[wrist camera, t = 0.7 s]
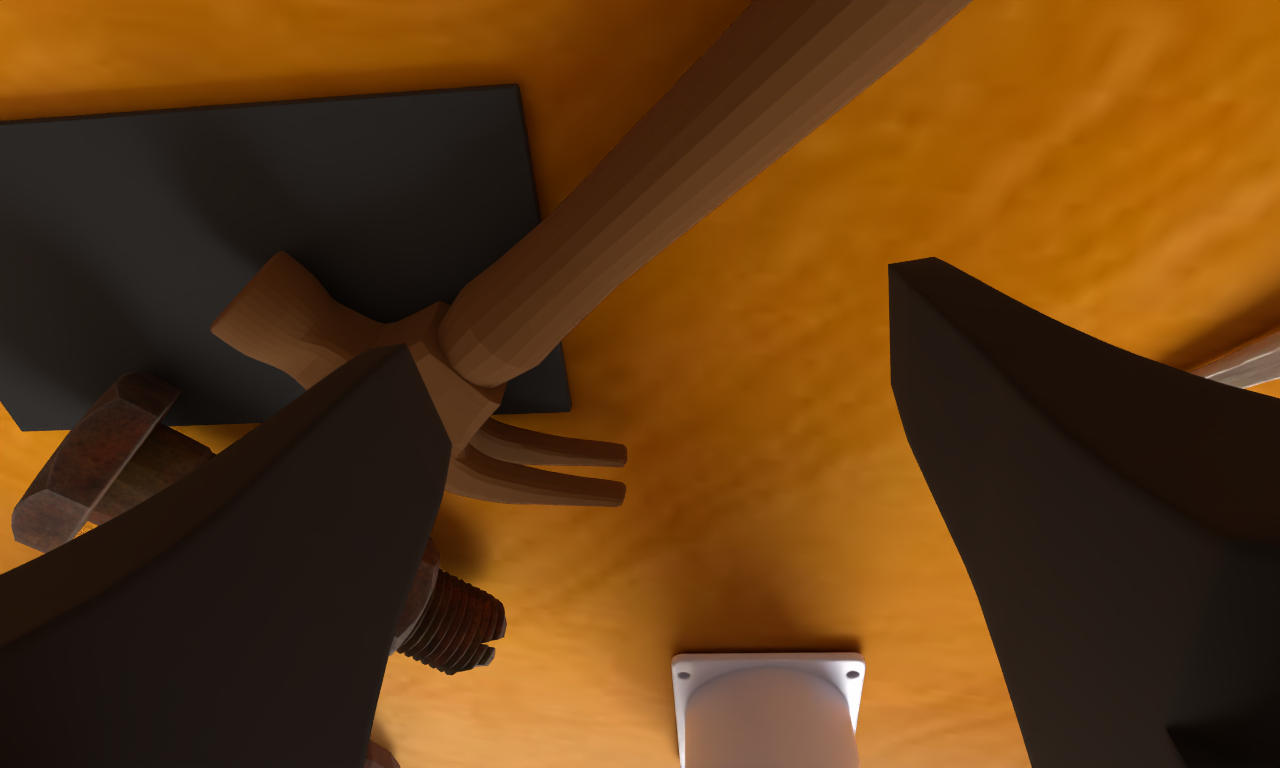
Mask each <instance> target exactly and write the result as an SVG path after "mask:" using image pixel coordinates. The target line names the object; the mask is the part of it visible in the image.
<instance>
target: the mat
mask: <svg viewBox="0 0 1280 768" xmlns="http://www.w3.org/2000/svg"><path fill="white" fill-rule="evenodd" d="M541 222H542V221H541V215H540V209H539V203H538V197H537V190H536V184H535V178H534V172H533V166H532V160H531V154H530V148H529V142H528V136H527V130H526V124H525V117H524V111H523V105H522V99H521V93H520V87H519V84H517V83H516V84H503V85H489V86H475V87H462V88H448V89H434V90H421V91H407V92H393V93H379V94H366V95H352V96H338V97H325V98H311V99H297V100H283V101H270V102H256V103H242V104H229V105H215V106H201V107H188V108H174V109H160V110H146V111H133V112H119V113H105V114H92V115H78V116H64V117H50V118H37V119H23V120H9V121H0V401H1V403H2V404H3V406H4V407H5V408H6V410H7V411H8V413H9V414H10V415H11V417H12V418H13V420H14V421H15V422H16V424H17V425H18V427H19V428H20V429H21V431H49V430H72V429H73V428H74V426H75V425H76V424H77V423H78V422H79V421H80V420H81V418H82V417H83V416H84V415H85V414H86V413H87V412H88V410H89V409H90V408H91V407H92V406H93V405H94V404H95V402H96V401H97V400H98V399H99V398H100V397H101V396H102V395H103V394H104V393H105V392H106V391H107V390H108V389H109V388H110V387H111V385H112V384H113V383H114V382H115V381H116V380H117V379H118V378H119V377H120V376H122V375H124V374H127V373H132V372H149V373H151V374H153V375H154V376H156V377H158V378H160V379H162V380H164V381H166V382H168V383H170V384H172V385H174V386H175V387H177V388H179V389H181V390H182V392H181V394H180V395H179V397H178V398H177V400H176V401H175V403H174V404H173V405H172V407H171V408H170V410H169V411H168V413H167V414H166V416H165V417H164V418H163V420H162V421H161V423H162V424H164V425H166V426H190V425H218V424H246V423H263V422H265V421H266V420H267V419H269V418H270V417H271V416H273V415H274V414H276V413H277V412H278V411H280V410H281V409H282V408H284V407H285V406H286V405H288V404H289V403H290V402H292V401H293V400H295V399H296V398H297V397H299V396H300V395H301V394H303V393H304V392H305V391H306V390H305V388H303V387H302V386H301V385H300V384H299V383H298V382H297V381H296V380H295V379H294V378H293V377H291V376H290V375H289V374H287V373H286V372H284V371H283V370H280V369H278V368H276V367H274V366H272V365H269V364H266V363H264V362H261V361H258V360H256V359H254V358H251V357H249V356H247V355H245V354H243V353H241V352H240V351H238V350H237V349H235V348H233V347H232V346H230V345H229V344H227V343H226V342H224V341H223V340H221V339H220V338H219V337H217V336H216V335H214V334H213V333H212V332H211V331H210V326H211V325H212V323H213V322H214V320H215V319H216V318H217V317H218V316H219V314H220V313H221V312H222V311H223V310H224V309H225V308H226V307H227V305H228V304H229V303H230V302H231V301H232V300H233V299H234V298H235V297H236V295H237V294H238V293H239V292H240V291H241V290H242V289H243V288H244V287H245V286H246V285H247V283H248V282H249V281H250V280H251V279H252V278H253V277H254V276H255V275H256V274H257V273H258V272H259V270H260V269H261V268H262V267H263V266H264V265H265V264H266V263H267V262H268V261H269V260H270V259H271V258H272V257H273V256H274V255H275V254H276V253H278V252H279V251H284V252H286V253H287V254H289V255H290V256H291V257H292V258H294V259H295V260H296V261H298V262H299V263H300V264H301V265H303V266H304V267H305V268H306V269H307V270H308V271H309V272H310V273H312V274H313V275H314V276H315V277H316V278H317V280H318V281H319V282H320V283H321V284H322V286H323V287H324V288H325V289H326V291H327V292H328V293H329V295H330V296H331V297H332V298H333V299H334V300H336V301H337V302H338V303H340V304H341V305H343V306H345V307H348V308H350V309H352V310H354V311H356V312H358V313H360V314H362V315H364V316H366V317H368V318H370V319H372V320H374V321H377V322H380V323H384V324H388V323H394V322H398V321H400V320H402V319H404V318H406V317H408V316H411V315H413V314H415V313H417V312H419V311H421V310H423V309H425V308H426V307H428V306H430V305H432V304H434V303H436V302H438V301H442V302H444V303H447V304H449V305H452V304H453V302H454V300H455V299H456V297H457V296H458V294H459V293H460V291H461V290H462V289H463V288H464V286H465V285H466V284H467V283H469V282H470V281H471V280H473V279H474V278H475V277H477V276H478V275H479V274H480V273H482V272H483V271H484V270H486V269H487V268H488V267H489V266H491V265H492V264H493V263H495V262H496V261H497V260H498V259H499V258H501V257H502V256H503V255H504V254H505V253H506V252H508V251H509V250H510V249H511V248H512V247H513V246H514V245H516V244H517V243H518V242H519V241H520V240H521V239H523V238H524V237H525V236H526V235H527V234H528V233H529V232H531V231H532V230H533V229H534V228H535V227H536V226H538V225H539V224H540V223H541ZM571 406H572V403H571V397H570V391H569V385H568V379H567V373H566V367H565V361H564V355H563V349H562V342H561V341H560V342H559V343H558V345H557V346H556V347H555V348H554V349H553V350H552V351H551V352H550V353H549V354H548V355H547V356H546V357H545V358H544V360H543V361H542V362H541V363H540V364H539V365H537V366H535V367H533V368H532V369H530V370H528V371H526V372H524V373H522V374H520V375H518V376H516V377H514V378H512V379H510V380H508V381H507V385H506V388H505V391H504V395H503V398H502V401H501V405H500V406H499V407H498V408H497V409H496V410H495V411H494V412H493V414H492V415H500V414H528V413H556V412H570V411H571Z"/></svg>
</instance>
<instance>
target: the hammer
mask: <svg viewBox="0 0 1280 768" xmlns="http://www.w3.org/2000/svg"><path fill="white" fill-rule="evenodd" d="M971 1H973V0H755V1H754V2H753V3H752V4H751V5H750V6H749V7H748V8H747V9H746V10H745V11H744V12H743V13H742V14H741V15H740V16H739V17H738V18H737V19H736V21H735V22H734V23H733V24H732V25H731V26H730V27H729V28H728V29H727V30H726V31H725V32H724V33H723V34H722V35H721V36H720V37H719V38H718V39H717V40H716V42H715V43H714V44H713V45H712V46H711V47H710V48H709V49H708V50H707V51H706V52H705V53H704V54H703V55H702V56H701V57H700V58H699V59H698V60H697V61H696V62H695V64H694V65H693V66H692V67H691V68H690V69H689V70H688V71H687V72H686V73H685V74H684V75H683V76H682V77H681V78H680V79H679V80H678V81H677V82H676V83H675V85H674V86H673V87H672V88H671V89H670V90H669V91H668V92H667V93H666V94H665V95H664V96H663V97H662V98H661V99H660V100H659V101H658V102H657V103H656V104H655V105H654V107H653V108H652V109H651V110H650V111H649V112H648V113H647V114H646V115H645V116H644V117H643V118H642V119H641V120H640V121H639V122H638V123H637V124H636V125H635V126H634V128H633V129H632V130H631V131H630V132H629V133H628V134H627V135H626V136H625V137H624V138H623V139H622V140H621V141H620V142H619V143H618V144H617V145H616V146H615V147H614V149H613V150H612V151H611V152H610V153H609V154H608V155H607V156H606V157H605V158H604V159H603V160H602V161H601V162H600V163H599V164H598V165H597V166H596V167H595V168H594V169H593V171H592V172H591V173H590V174H589V175H588V176H587V177H586V178H585V179H584V180H583V181H582V182H581V183H580V184H579V185H578V186H577V187H576V188H575V189H574V190H573V192H572V193H571V194H570V195H569V196H568V197H567V198H566V199H565V200H564V201H563V202H562V203H561V204H560V205H559V206H558V207H557V208H556V209H555V210H554V211H553V212H552V213H551V214H550V215H549V216H548V217H547V218H546V219H544V220H543V221H542V222H541V223H540V224H539V225H538V226H536V227H535V228H534V229H533V230H532V231H531V232H529V233H528V234H527V235H526V236H525V237H524V238H523V239H521V240H520V241H519V242H518V243H517V244H516V245H514V246H513V247H512V248H511V249H510V250H509V251H508V252H506V253H505V254H504V255H503V256H502V257H501V258H499V259H498V260H497V261H496V262H495V263H493V264H492V265H491V266H489V267H488V268H487V269H486V270H484V271H483V272H482V273H480V274H479V275H478V276H477V277H475V278H474V279H473V280H471V281H470V282H469V283H467V284H466V285H465V286H464V288H463V289H462V290H461V291H460V293H459V294H458V296H457V297H456V299H455V300H454V302H453V304H452V305H449V304H447V303H444V302H442V301H438V302H436V303H434V304H432V305H430V306H428V307H426V308H425V309H423V310H421V311H419V312H417V313H415V314H413V315H411V316H408V317H406V318H404V319H402V320H400V321H398V322H394V323H388V324H384V323H380V322H377V321H374V320H372V319H370V318H368V317H366V316H364V315H362V314H360V313H358V312H356V311H354V310H352V309H350V308H348V307H345V306H343V305H341V304H340V303H338V302H337V301H336V300H334V299H333V298H332V297H331V296H330V295H329V293H328V292H327V291H326V289H325V288H324V287H323V286H322V284H321V283H320V282H319V281H318V280H317V278H316V277H315V276H314V275H313V274H312V273H310V272H309V271H308V270H307V269H306V268H305V267H304V266H303V265H301V264H300V263H299V262H298V261H296V260H295V259H294V258H292V257H291V256H290V255H289V254H287V253H286V252H284V251H279V252H278V253H276V254H275V255H274V256H273V257H272V258H271V259H270V260H269V261H268V262H267V263H266V264H265V265H264V266H263V267H262V268H261V269H260V270H259V272H258V273H257V274H256V275H255V276H254V277H253V278H252V279H251V280H250V281H249V282H248V283H247V285H246V286H245V287H244V288H243V289H242V290H241V291H240V292H239V293H238V294H237V295H236V297H235V298H234V299H233V300H232V301H231V302H230V303H229V304H228V305H227V307H226V308H225V309H224V310H223V311H222V312H221V313H220V314H219V316H218V317H217V318H216V319H215V320H214V322H213V323H212V325H211V326H210V331H211V332H212V333H213V334H214V335H216V336H217V337H219V338H220V339H221V340H223V341H224V342H226V343H227V344H229V345H230V346H232V347H233V348H235V349H237V350H238V351H240V352H241V353H243V354H245V355H247V356H249V357H251V358H254V359H256V360H258V361H261V362H264V363H266V364H269V365H272V366H274V367H276V368H278V369H280V370H283V371H284V372H286V373H287V374H289V375H290V376H291V377H293V378H294V379H295V380H296V381H297V382H298V383H299V384H300V385H301V386H302V387H303V388H305V390H306V391H307V390H308V389H309V388H311V387H312V386H314V385H315V384H316V383H318V382H319V381H320V380H322V379H323V378H325V377H326V376H327V375H329V374H330V373H332V372H333V371H334V370H336V369H337V368H339V367H340V366H342V365H343V364H345V363H346V362H348V361H349V360H351V359H352V358H354V357H356V356H357V355H359V354H361V353H363V352H365V351H367V350H368V349H371V348H378V347H384V346H390V345H396V344H402V343H406V344H407V346H408V348H409V350H410V353H411V355H412V357H413V359H414V361H415V364H416V366H417V368H418V370H419V372H420V375H421V377H422V379H423V381H424V383H425V385H426V388H427V390H428V392H429V394H430V396H431V399H432V401H433V403H434V405H435V407H436V410H437V412H438V414H439V416H440V418H441V421H442V423H443V425H444V427H445V429H446V431H447V434H448V436H449V438H450V440H451V442H452V450H451V456H450V462H449V468H448V474H447V479H446V484H445V489H444V490H445V491H448V492H450V493H453V494H456V495H460V496H464V497H469V498H474V499H479V500H484V501H490V502H497V503H507V504H539V505H565V506H603V507H618V506H620V505H622V503H623V501H624V499H625V493H626V486H625V484H624V483H622V482H618V481H612V480H605V479H597V478H588V477H581V476H574V475H568V474H563V473H557V472H551V471H546V470H541V469H536V468H532V467H527V466H523V465H556V466H605V467H624V465H625V464H626V462H627V449H626V446H624V445H623V444H617V443H611V442H603V441H593V440H583V439H575V438H568V437H562V436H556V435H550V434H544V433H539V432H535V431H531V430H526V429H522V428H518V427H515V426H511V425H507V424H504V423H501V422H498V421H496V420H494V419H492V418H490V416H491V415H492V414H493V412H494V411H495V410H496V409H497V408H498V407H499V406H500V405H501V401H502V398H503V395H504V391H505V388H506V385H507V381H508V380H510V379H512V378H514V377H516V376H518V375H520V374H522V373H524V372H526V371H528V370H530V369H532V368H533V367H535V366H537V365H539V364H540V363H541V362H542V361H543V360H544V358H545V357H546V356H547V355H548V354H549V353H550V352H551V351H552V350H553V349H554V348H555V347H556V346H557V345H558V343H559V342H560V341H561V340H562V339H563V338H564V337H565V336H566V335H567V334H568V333H569V332H570V331H571V330H572V329H573V328H574V327H575V326H577V325H578V324H579V323H580V322H581V321H582V320H583V319H584V318H585V317H586V316H587V315H588V314H589V313H590V312H591V311H592V310H593V309H594V308H595V307H596V306H597V305H598V304H599V303H601V302H602V301H603V300H604V299H605V298H606V297H607V296H608V295H609V294H610V293H611V292H612V291H613V290H614V289H615V288H616V287H617V286H619V285H620V284H621V283H622V282H624V281H625V280H626V279H627V278H629V277H630V276H631V275H632V274H634V273H635V272H636V271H637V270H639V269H640V268H641V267H642V266H644V265H645V264H646V263H647V262H649V261H650V260H651V259H653V258H654V257H655V256H656V255H658V254H659V253H660V252H661V251H663V250H664V249H665V248H666V247H668V246H669V245H670V244H671V243H673V242H674V241H675V240H676V239H678V238H679V237H680V236H681V235H683V234H684V233H685V232H686V231H688V230H689V229H690V228H692V227H693V226H694V225H695V224H697V223H698V222H699V221H700V220H702V219H703V218H704V217H705V216H707V215H708V214H709V213H710V212H712V211H713V210H714V209H715V208H717V207H718V206H719V205H720V204H722V203H723V202H724V201H725V200H727V199H728V198H729V197H731V196H732V195H733V194H734V193H736V192H737V191H738V190H739V189H741V188H742V187H743V186H744V185H746V184H747V183H748V182H749V181H751V180H752V179H753V178H754V177H756V176H757V175H758V174H759V173H761V172H762V171H763V170H765V169H766V168H767V167H768V166H770V165H771V164H772V163H773V162H775V161H776V160H777V159H778V158H780V157H781V156H782V155H783V154H785V153H786V152H787V151H788V150H790V149H791V148H792V147H793V146H795V145H796V144H797V143H798V142H800V141H801V140H802V139H804V138H805V137H806V136H807V135H809V134H810V133H811V132H812V131H814V130H815V129H816V128H817V127H819V126H820V125H821V124H822V123H824V122H825V121H826V120H827V119H829V118H830V117H831V116H832V115H834V114H835V113H836V112H838V111H839V110H840V109H841V108H843V107H844V106H845V105H846V104H848V103H849V102H850V101H851V100H853V99H854V98H855V97H856V96H858V95H859V94H860V93H861V92H863V91H864V90H865V89H866V88H868V87H869V86H870V85H871V84H873V83H874V82H875V81H877V80H878V79H879V78H880V77H882V76H883V75H884V74H885V73H887V72H888V71H889V70H890V69H892V68H893V67H894V66H895V65H897V64H898V63H899V62H900V61H902V60H903V59H904V58H905V57H907V56H908V55H909V54H910V53H912V52H913V51H914V50H915V49H917V48H918V47H919V46H920V45H921V44H922V43H924V42H925V41H926V40H927V39H928V38H929V37H931V36H932V35H933V34H934V33H935V32H936V31H938V30H939V29H940V28H941V27H942V26H943V25H945V24H946V23H947V22H948V21H949V20H950V19H952V18H953V17H954V16H955V15H956V14H957V13H959V12H960V11H961V10H962V9H963V8H964V7H966V6H967V5H968V4H969V3H970V2H971Z"/></svg>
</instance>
